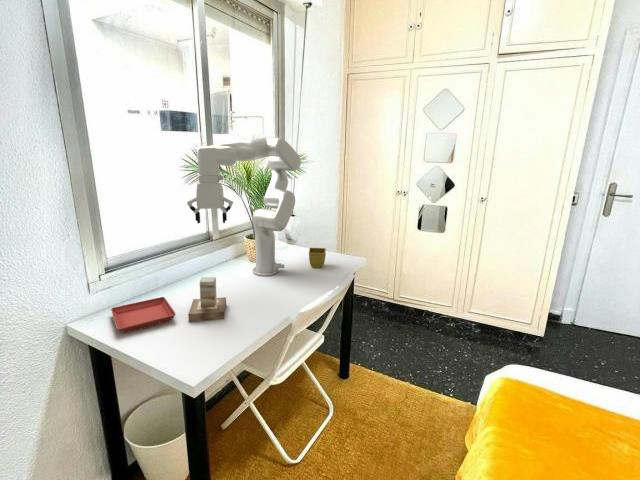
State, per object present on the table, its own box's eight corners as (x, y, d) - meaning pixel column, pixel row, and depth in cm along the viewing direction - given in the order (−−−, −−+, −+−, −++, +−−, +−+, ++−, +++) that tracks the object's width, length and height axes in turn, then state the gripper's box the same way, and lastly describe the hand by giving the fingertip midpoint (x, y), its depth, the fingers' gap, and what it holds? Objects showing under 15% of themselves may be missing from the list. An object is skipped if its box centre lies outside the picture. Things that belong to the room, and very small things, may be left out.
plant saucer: (111, 315, 122) (110, 307, 121) (164, 303, 132) (164, 295, 131) (118, 338, 108) (117, 329, 107) (177, 322, 118) (176, 314, 118)
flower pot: (325, 269, 173) (325, 253, 170) (308, 269, 173) (308, 252, 170) (325, 264, 181) (325, 248, 179) (309, 263, 181) (309, 247, 179)
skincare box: (200, 307, 122) (198, 281, 120) (203, 302, 127) (201, 277, 124) (215, 307, 123) (213, 281, 120) (217, 301, 127) (215, 276, 124)
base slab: (226, 304, 132) (225, 296, 131) (224, 319, 121) (223, 311, 120) (194, 306, 130) (193, 298, 129) (188, 321, 119) (188, 313, 118)
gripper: (232, 178, 135) (234, 220, 140) (187, 178, 132) (190, 220, 136) (231, 180, 128) (233, 224, 133) (183, 180, 125) (187, 225, 129)
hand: (211, 222), depth 134 cm, fingers open, 9 cm apart
